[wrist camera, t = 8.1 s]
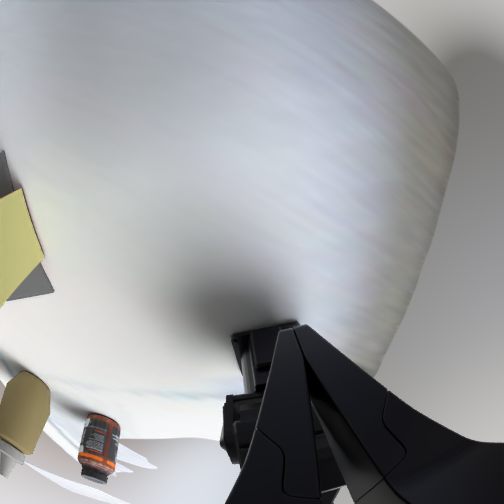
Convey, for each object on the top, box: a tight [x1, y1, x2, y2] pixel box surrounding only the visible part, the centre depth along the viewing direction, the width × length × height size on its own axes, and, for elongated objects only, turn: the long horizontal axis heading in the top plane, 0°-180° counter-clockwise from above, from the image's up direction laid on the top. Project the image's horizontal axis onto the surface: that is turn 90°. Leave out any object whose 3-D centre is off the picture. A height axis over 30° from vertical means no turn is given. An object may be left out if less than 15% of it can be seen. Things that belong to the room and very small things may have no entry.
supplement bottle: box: [78, 414, 120, 484], centre depth 27 cm, size 6×6×11 cm
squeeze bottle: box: [0, 371, 50, 478], centre depth 19 cm, size 8×8×18 cm
